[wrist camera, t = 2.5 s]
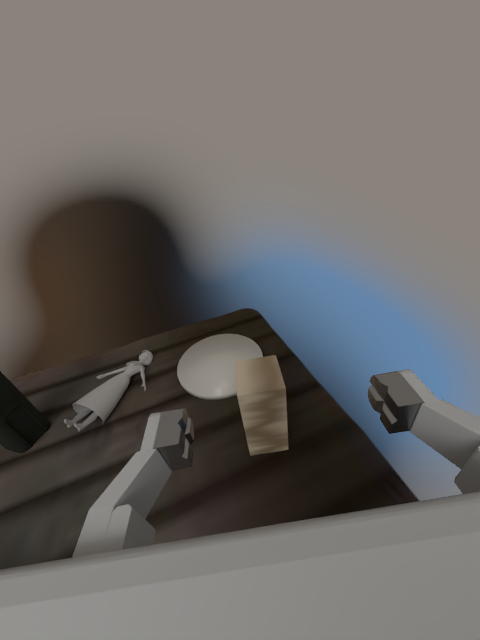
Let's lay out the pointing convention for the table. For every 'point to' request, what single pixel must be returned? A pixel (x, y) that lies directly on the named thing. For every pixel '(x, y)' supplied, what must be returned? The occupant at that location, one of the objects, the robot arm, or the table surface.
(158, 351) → the table surface
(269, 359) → the maple block
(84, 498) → the table surface
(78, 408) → the woman figurine
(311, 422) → the table surface
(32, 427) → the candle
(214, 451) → the table surface
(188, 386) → the plate
